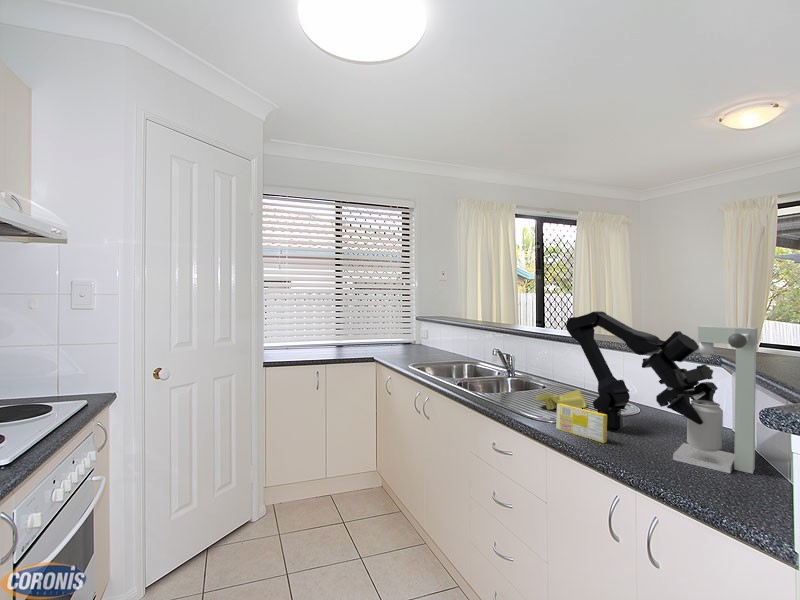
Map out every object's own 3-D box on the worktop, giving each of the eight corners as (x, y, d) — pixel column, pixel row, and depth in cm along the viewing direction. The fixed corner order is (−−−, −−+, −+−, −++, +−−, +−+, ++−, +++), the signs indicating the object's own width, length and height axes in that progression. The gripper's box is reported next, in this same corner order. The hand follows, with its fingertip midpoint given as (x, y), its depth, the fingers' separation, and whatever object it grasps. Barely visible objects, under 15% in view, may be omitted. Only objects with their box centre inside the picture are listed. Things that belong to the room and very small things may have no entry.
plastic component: (561, 395, 171) (581, 388, 164) (567, 413, 168) (588, 407, 161) (529, 398, 160) (550, 391, 153) (535, 417, 157) (557, 411, 150)
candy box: (607, 442, 122) (608, 414, 122) (603, 444, 121) (603, 415, 121) (559, 427, 136) (560, 402, 136) (555, 428, 135) (555, 403, 135)
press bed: (673, 459, 109) (673, 454, 109) (683, 448, 118) (683, 442, 118) (730, 473, 101) (730, 467, 101) (736, 459, 110) (736, 454, 110)
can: (705, 442, 114) (706, 398, 114) (729, 452, 106) (731, 405, 106) (679, 442, 113) (680, 398, 113) (702, 453, 106) (703, 406, 105)
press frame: (682, 479, 98) (684, 329, 97) (700, 455, 113) (701, 325, 112) (745, 495, 90) (747, 332, 89) (755, 467, 104) (757, 328, 104)
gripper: (668, 356, 109) (714, 409, 99) (710, 352, 117) (757, 401, 107) (639, 380, 116) (679, 432, 106) (680, 375, 124) (721, 423, 114)
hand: (710, 422), depth 108 cm, fingers closed on can, 7 cm apart
